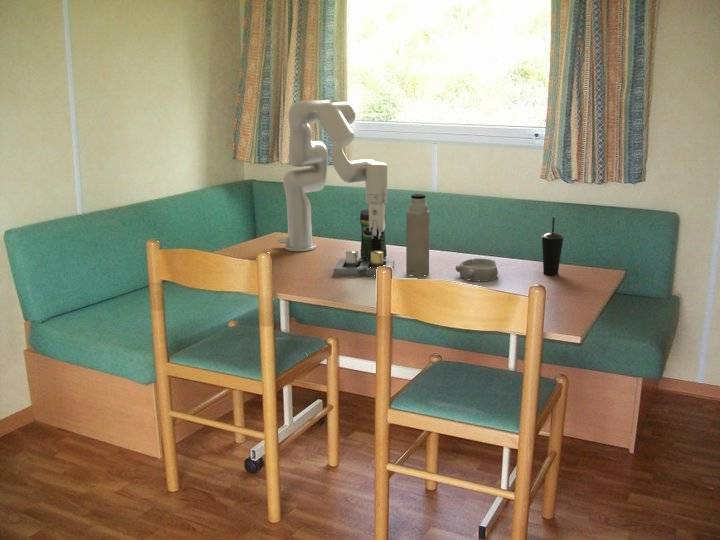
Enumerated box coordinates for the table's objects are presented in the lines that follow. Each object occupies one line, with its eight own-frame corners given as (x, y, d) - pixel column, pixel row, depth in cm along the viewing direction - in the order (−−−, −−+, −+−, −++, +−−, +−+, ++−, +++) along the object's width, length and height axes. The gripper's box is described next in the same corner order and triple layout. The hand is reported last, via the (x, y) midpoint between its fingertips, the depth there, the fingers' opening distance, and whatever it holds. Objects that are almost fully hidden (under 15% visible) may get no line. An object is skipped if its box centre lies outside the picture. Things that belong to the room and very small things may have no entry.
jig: (333, 275, 270) (333, 268, 269) (340, 265, 284) (339, 258, 283) (390, 277, 268) (390, 270, 267) (394, 266, 281) (394, 259, 280)
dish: (490, 270, 275) (490, 256, 273) (505, 281, 262) (506, 266, 260) (451, 273, 272) (451, 259, 270) (465, 284, 259) (465, 269, 257)
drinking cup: (549, 278, 263) (552, 220, 258) (534, 273, 270) (537, 216, 264) (566, 275, 267) (570, 218, 261) (551, 270, 273) (554, 214, 268)
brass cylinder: (370, 272, 273) (370, 253, 271) (371, 269, 277) (371, 250, 276) (382, 273, 273) (382, 253, 271) (383, 269, 277) (383, 250, 275)
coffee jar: (389, 257, 294) (389, 209, 289) (379, 261, 288) (378, 212, 283) (368, 254, 299) (367, 206, 294) (357, 258, 293) (356, 210, 288)
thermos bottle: (401, 273, 271) (401, 195, 264) (416, 269, 277) (417, 192, 269) (418, 278, 266) (419, 197, 258) (433, 273, 271) (434, 194, 264)
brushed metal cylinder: (345, 272, 274) (344, 253, 272) (347, 269, 279) (346, 250, 277) (357, 272, 274) (357, 253, 272) (359, 269, 278) (358, 250, 276)
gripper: (385, 202, 260) (384, 255, 265) (389, 194, 275) (388, 244, 280) (362, 202, 261) (363, 254, 266) (368, 194, 276) (368, 243, 281)
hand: (376, 249), depth 273 cm, fingers closed
